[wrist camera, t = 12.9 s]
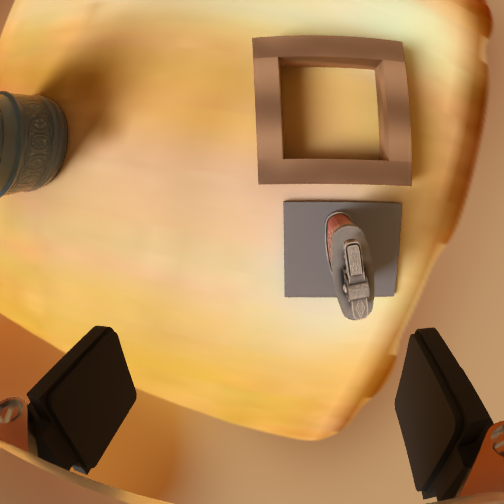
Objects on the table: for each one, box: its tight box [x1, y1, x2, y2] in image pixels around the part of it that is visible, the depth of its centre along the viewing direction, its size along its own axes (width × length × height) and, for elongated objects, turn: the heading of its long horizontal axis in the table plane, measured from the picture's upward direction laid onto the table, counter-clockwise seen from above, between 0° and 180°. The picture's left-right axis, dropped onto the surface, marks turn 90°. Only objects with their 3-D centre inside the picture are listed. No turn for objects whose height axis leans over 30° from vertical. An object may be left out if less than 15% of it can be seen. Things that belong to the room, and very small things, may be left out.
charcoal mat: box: [283, 201, 402, 297], centre depth 32 cm, size 10×12×1 cm
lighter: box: [325, 211, 375, 320], centre depth 27 cm, size 8×3×10 cm, turn 13°
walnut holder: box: [252, 36, 412, 186], centre depth 27 cm, size 14×14×4 cm
